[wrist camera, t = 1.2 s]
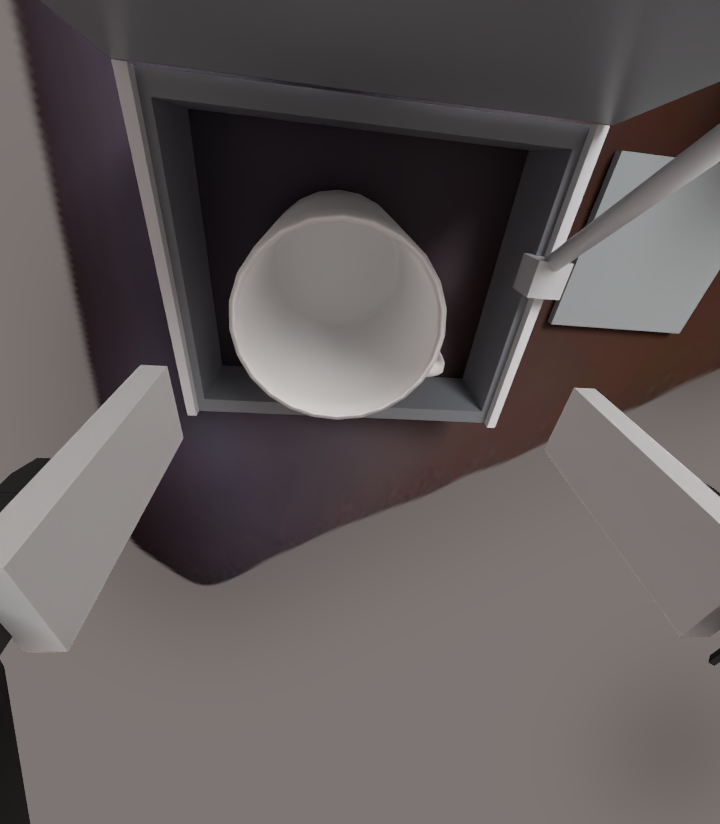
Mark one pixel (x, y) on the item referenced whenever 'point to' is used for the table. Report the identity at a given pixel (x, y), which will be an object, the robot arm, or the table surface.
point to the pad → (646, 255)
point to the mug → (337, 309)
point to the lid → (432, 47)
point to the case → (545, 139)
